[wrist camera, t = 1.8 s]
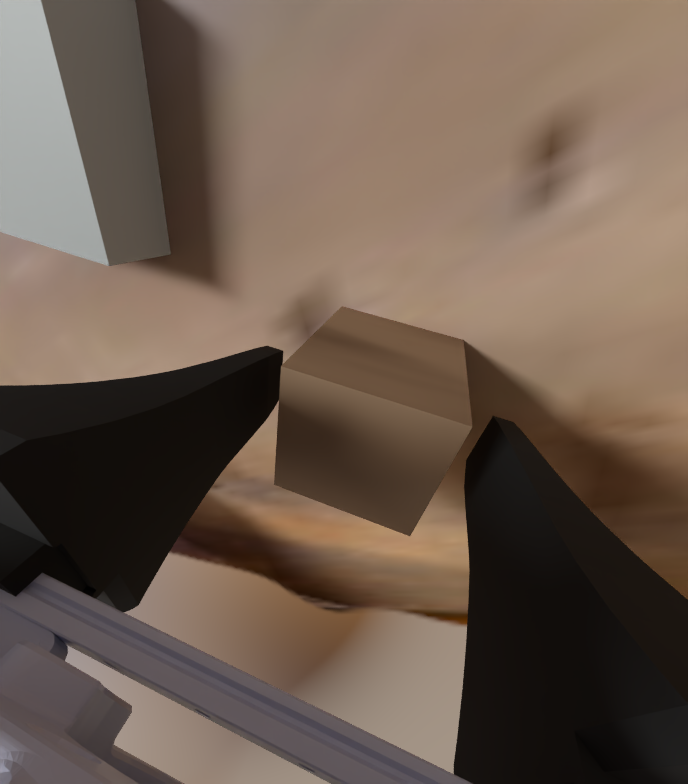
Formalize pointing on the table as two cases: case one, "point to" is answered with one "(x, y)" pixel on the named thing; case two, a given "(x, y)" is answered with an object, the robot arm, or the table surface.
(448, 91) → the table surface
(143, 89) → the grey block
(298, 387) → the walnut block
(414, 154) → the table surface
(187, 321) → the table surface
